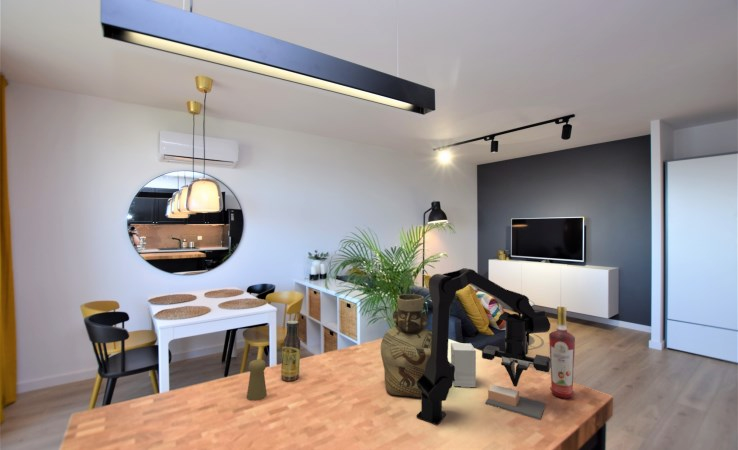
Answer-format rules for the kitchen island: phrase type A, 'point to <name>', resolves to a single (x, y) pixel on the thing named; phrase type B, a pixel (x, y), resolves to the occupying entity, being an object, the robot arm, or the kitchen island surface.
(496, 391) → the slab
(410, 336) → the ceramic vessel
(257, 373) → the pepper mill
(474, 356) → the supplement box
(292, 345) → the sauce bottle
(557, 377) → the liquor
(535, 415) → the mat
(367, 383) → the kitchen island surface
